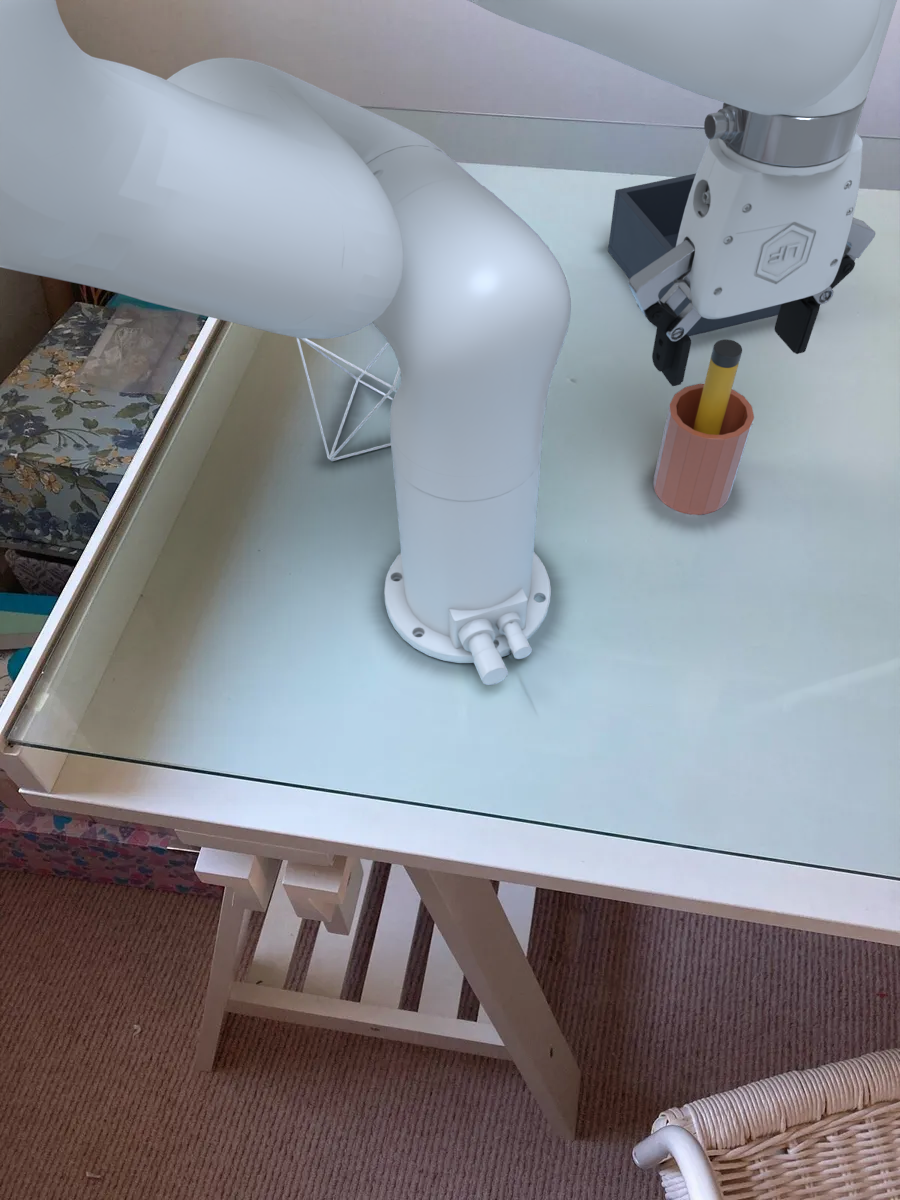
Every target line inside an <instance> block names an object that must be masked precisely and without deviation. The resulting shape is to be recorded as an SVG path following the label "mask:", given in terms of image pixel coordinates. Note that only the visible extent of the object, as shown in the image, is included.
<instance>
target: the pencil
mask: <svg viewBox="0 0 900 1200" xmlns="http://www.w3.org/2000/svg"><path fill="white" fill-rule="evenodd" d="M742 354H743V346H741V344H740V343H739V342H738V341H735V340H732V339H726V338H725V339H720V340H718V341H716V342H714V345H713V347H712V351H711V355H710V358H709V359H710V360H709V363H708V368H707V371H706V372H707V373H706V376H705V379H704V383H703V384H704V387H703V391H702V396H701V400H700V404H699V408H698V412H697V416H696V420H695V424H694V428H693V430H695V431H699V432H702V433H705V434H712V435H719V433H720V430H721V426H722V422H723V419H724V415H725V412H726V408H727V404H728V401H729V397H730V394H731V390H732V389H733V385H734V382H735V378H736V376H737V371H738V369H739V364H740V361H741V358H742Z"/></svg>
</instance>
